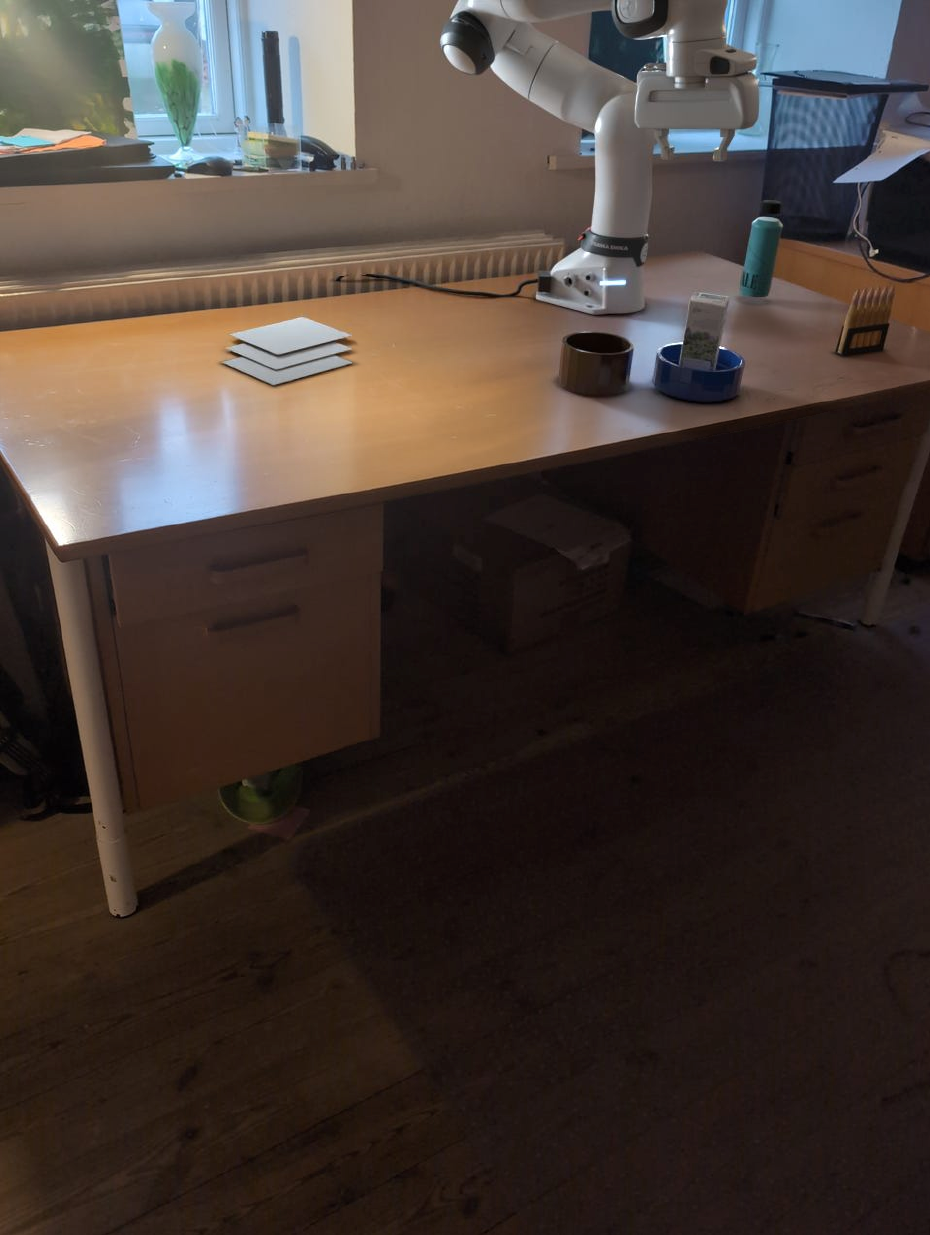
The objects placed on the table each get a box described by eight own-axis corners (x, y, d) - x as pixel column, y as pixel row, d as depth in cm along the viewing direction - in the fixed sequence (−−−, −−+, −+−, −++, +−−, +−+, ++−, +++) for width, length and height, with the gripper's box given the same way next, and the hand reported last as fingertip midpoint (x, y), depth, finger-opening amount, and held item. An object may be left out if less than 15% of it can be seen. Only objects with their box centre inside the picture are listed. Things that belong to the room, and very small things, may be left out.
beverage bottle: (770, 299, 216) (791, 200, 205) (764, 306, 211) (785, 205, 200) (740, 294, 218) (759, 196, 207) (733, 301, 213) (752, 201, 202)
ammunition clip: (841, 356, 186) (858, 290, 179) (834, 353, 187) (850, 287, 180) (883, 350, 190) (901, 285, 183) (875, 347, 191) (893, 282, 185)
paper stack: (388, 352, 175) (388, 348, 175) (273, 385, 159) (273, 381, 159) (303, 320, 188) (302, 316, 188) (188, 347, 172) (188, 343, 172)
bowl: (640, 392, 165) (644, 359, 162) (667, 368, 175) (672, 337, 172) (724, 411, 159) (731, 377, 156) (748, 385, 170) (754, 353, 167)
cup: (547, 387, 165) (551, 345, 161) (574, 367, 174) (579, 327, 170) (613, 402, 160) (618, 359, 157) (638, 381, 169) (644, 340, 165)
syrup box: (714, 382, 169) (730, 294, 161) (709, 393, 164) (725, 304, 156) (680, 376, 170) (694, 289, 162) (674, 388, 166) (689, 299, 158)
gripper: (626, 65, 157) (627, 161, 164) (746, 61, 145) (740, 165, 152) (648, 61, 161) (648, 155, 168) (767, 56, 149) (761, 157, 156)
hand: (693, 160), depth 160 cm, fingers open, 8 cm apart
